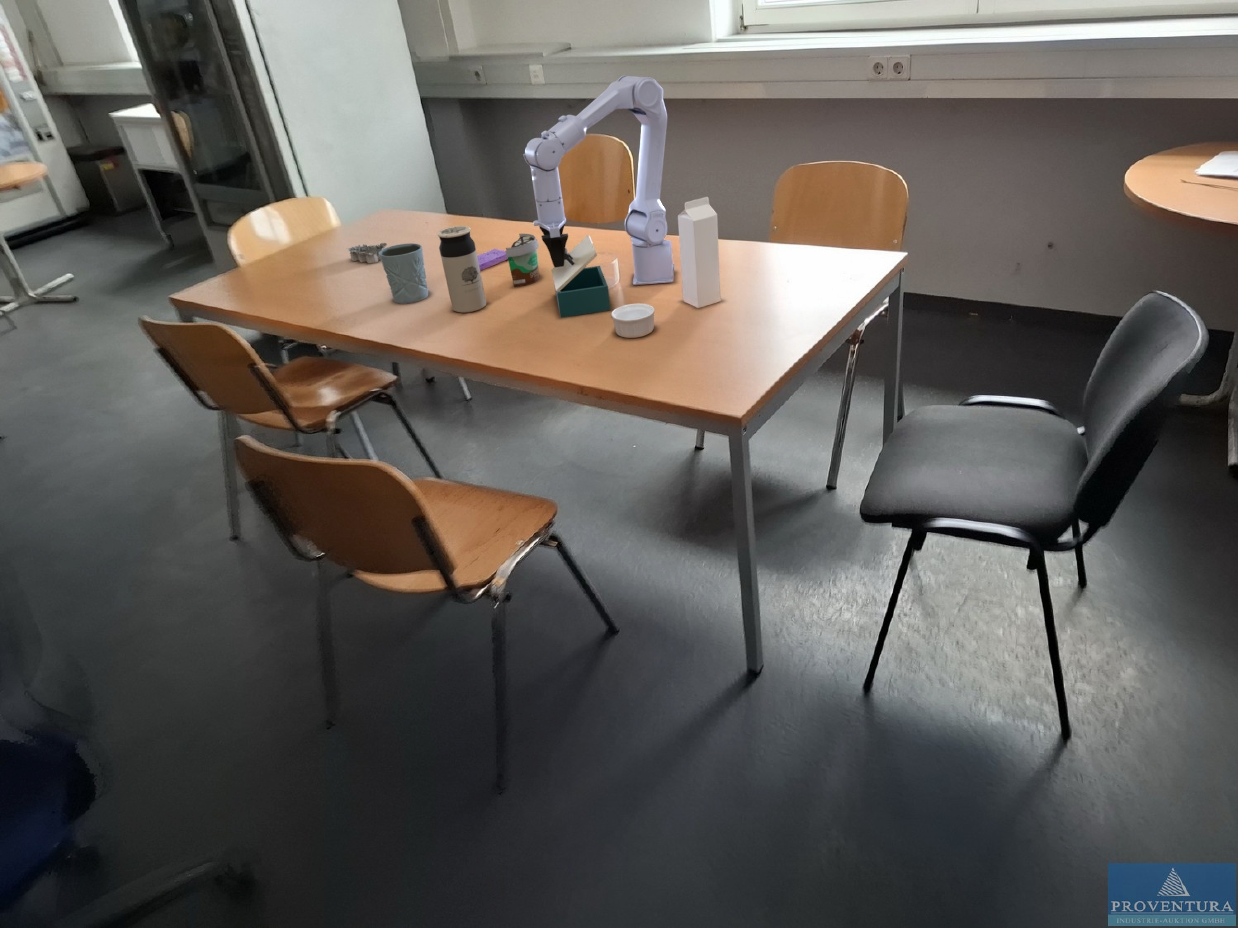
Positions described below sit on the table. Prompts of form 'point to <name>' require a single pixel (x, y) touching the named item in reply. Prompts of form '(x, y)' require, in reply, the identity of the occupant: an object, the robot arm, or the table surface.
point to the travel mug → (461, 269)
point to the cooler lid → (574, 263)
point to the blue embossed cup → (405, 272)
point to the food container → (523, 260)
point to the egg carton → (366, 253)
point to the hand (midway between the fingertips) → (557, 261)
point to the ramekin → (633, 320)
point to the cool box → (584, 294)
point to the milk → (699, 253)
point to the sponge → (491, 258)
